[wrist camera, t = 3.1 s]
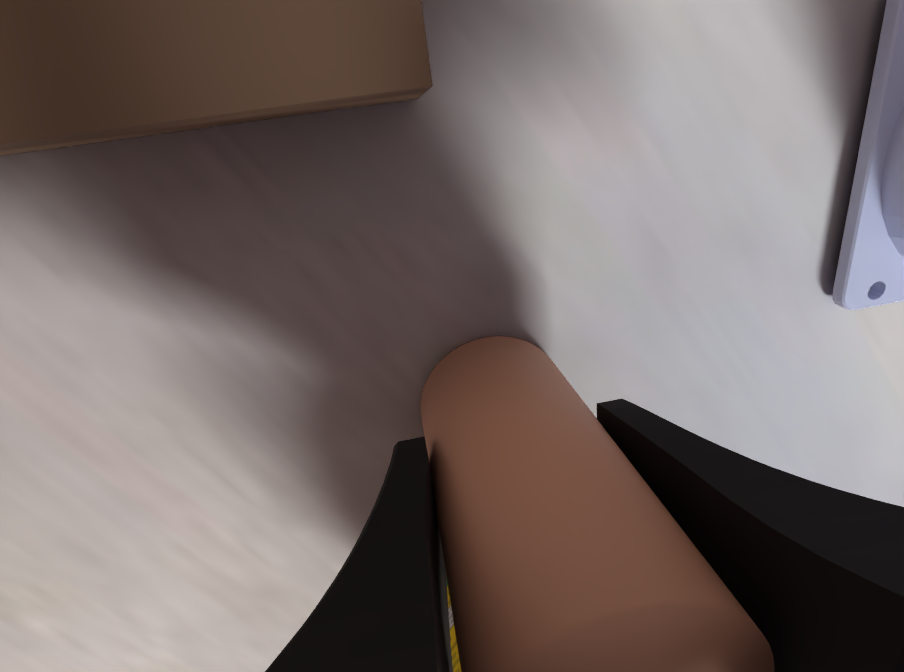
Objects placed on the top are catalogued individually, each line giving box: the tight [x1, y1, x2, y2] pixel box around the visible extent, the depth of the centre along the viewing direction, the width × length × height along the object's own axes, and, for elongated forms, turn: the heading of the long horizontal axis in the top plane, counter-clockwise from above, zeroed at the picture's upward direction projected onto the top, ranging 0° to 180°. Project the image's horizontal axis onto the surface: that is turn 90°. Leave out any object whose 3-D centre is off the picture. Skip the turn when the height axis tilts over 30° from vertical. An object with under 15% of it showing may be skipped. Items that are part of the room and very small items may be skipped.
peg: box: [421, 336, 775, 672], centre depth 10 cm, size 4×4×8 cm
